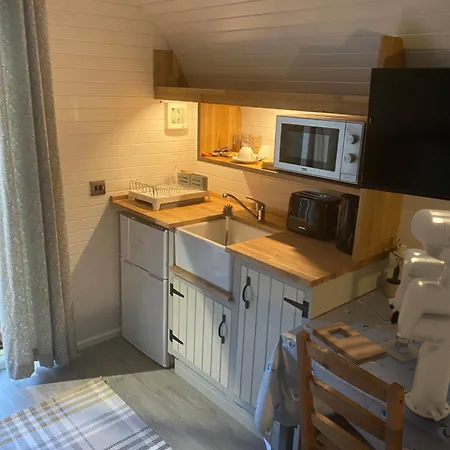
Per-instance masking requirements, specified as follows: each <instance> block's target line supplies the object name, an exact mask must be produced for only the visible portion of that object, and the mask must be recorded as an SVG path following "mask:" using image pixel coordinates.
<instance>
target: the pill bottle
mask: <svg viewBox="0 0 450 450" xmlns="http://www.w3.org/2000/svg"><path fill="white" fill-rule="evenodd" d="M395 339H396V341H395V347H394V348H395V350H397V351H399V352H402V353H405V352H407V351H408V348H409V343H410V341H411V340H410V339H406V338H404V337H402V336H401V335H400V333H399V331H398V330H397V332H396V336H395Z"/></svg>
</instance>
